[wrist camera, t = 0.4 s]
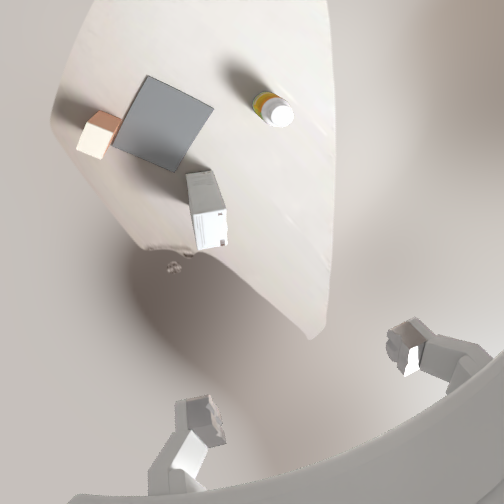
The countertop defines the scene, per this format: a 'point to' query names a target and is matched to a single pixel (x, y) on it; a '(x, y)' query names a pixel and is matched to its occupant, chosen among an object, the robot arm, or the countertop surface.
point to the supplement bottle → (273, 109)
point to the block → (98, 134)
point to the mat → (161, 124)
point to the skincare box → (207, 210)
